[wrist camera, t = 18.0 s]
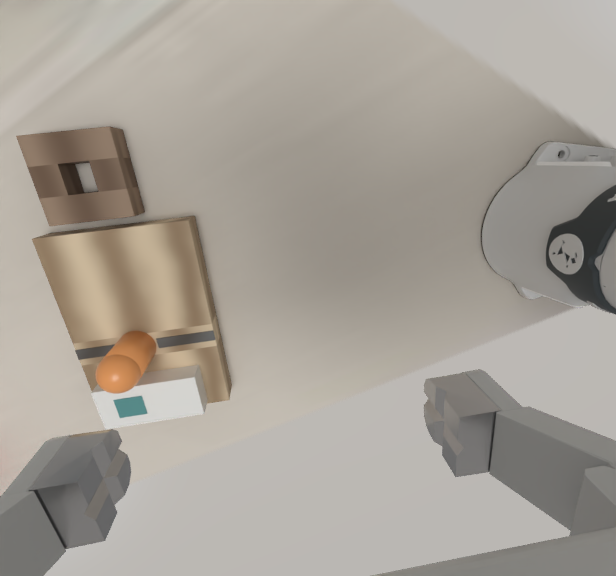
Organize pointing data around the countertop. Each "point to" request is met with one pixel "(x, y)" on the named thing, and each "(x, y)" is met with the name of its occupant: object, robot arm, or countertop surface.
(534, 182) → the robot arm
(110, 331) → the subfloor panel
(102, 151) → the awl holder
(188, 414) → the block
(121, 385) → the orange rounded knob
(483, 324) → the countertop surface
